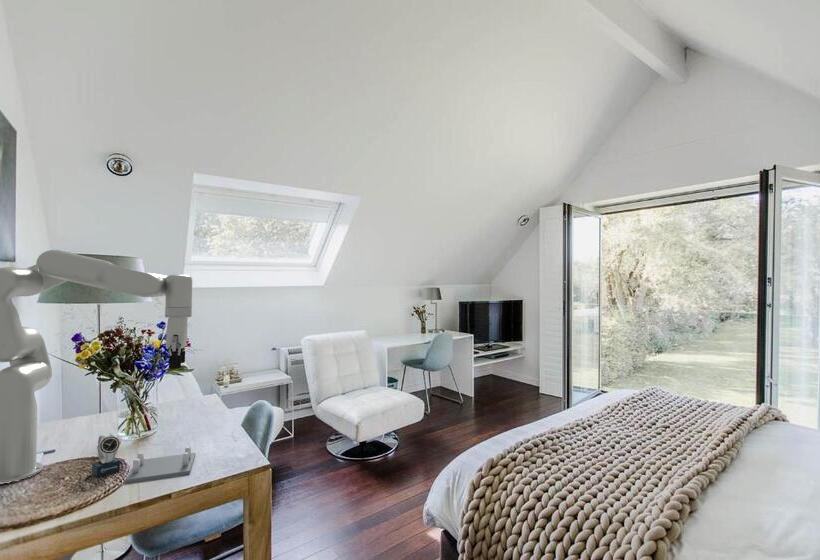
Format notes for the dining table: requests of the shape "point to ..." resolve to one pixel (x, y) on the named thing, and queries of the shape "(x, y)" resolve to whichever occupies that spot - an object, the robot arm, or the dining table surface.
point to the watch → (106, 456)
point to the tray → (161, 466)
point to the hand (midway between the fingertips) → (177, 365)
